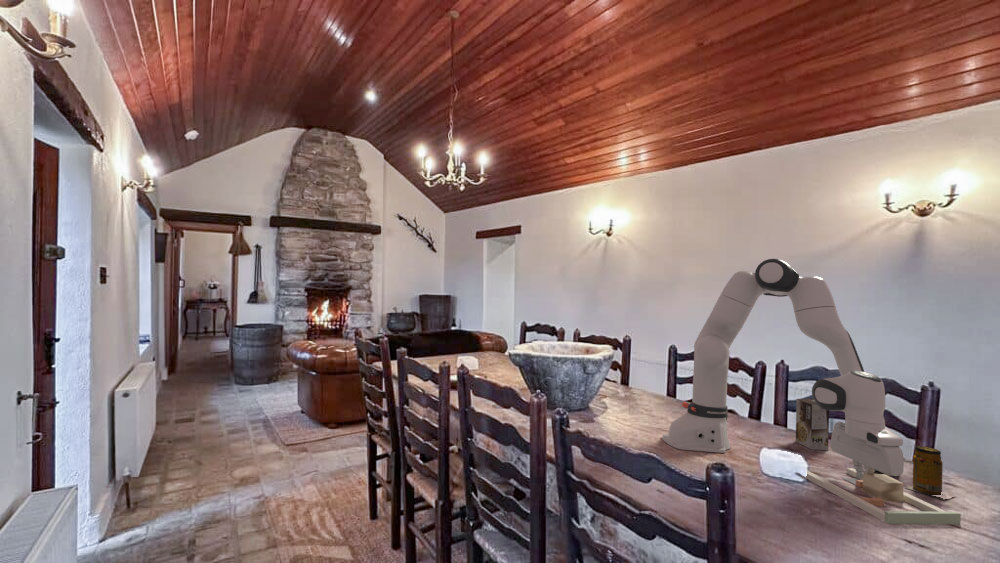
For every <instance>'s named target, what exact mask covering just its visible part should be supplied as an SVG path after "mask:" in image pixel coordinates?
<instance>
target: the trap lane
mask: <svg viewBox="0 0 1000 563" xmlns="http://www.w3.org/2000/svg"><path fill="white" fill-rule="evenodd" d="M806 470H807V469H806ZM846 474H847V475H849V476H851V477H842V479H843V480H844V481H847V482H848V483H851V484H852V485H853V486H854V485H855V486H857V487H858V488H863V480H862V479H860V478H858V477H857V476H856V469H855V468H854V467H853V468H852V467H851V468H850V467H847V468H846ZM805 479H807V480H808V481H810V482H812V483H814V484H816V485H818V486H820V487H821V488H823V489H825V490H827V491H828V492H830V493H832V494H834V495H836V496H837V497H839V498H840V499H842V500H843V501H844V500H845V501H846V502H848V503H849V504H852V505H853V506H856V507H858V508H859V509H861V510H862V511H865V512H866V513H868V514H870V515H872V516H874V517H876V518H877V519H879V520H881V521H882V522H884V523H886V524H888V525H961V519H962V518H961V517H962V516H961V515H962V514H961V513H960V512H958V511H946V510H944V509H942V508H940V507H938V506H936V505H933V504H931V503H929V502H926V500H922V499H921V498H918V497H916V496H914V495H912V494H909V493H907V492H906V491H903V502H905V503H909V504H910V505H913V506H914V507H916V508H918V509H921V510H922V511H918V510H917V511H913V510H912V511H911V510H909V511H906V510H884V509H881V508H880V507H885V501H884V500H882V499H880V498H874V497H858V496H856V495H855V494H853V493H851V492H849V491H847V490H845V489H843V488H841V487H839V486H837V485H836V484H834V483H832V482H830V481H828V480H827V479H825V478H822V477H821V476H819V475H817V474H815V473H813V472H812V471H809V470H807V476H806V478H805Z"/></svg>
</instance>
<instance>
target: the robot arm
mask: <svg viewBox="0 0 1000 563" xmlns="http://www.w3.org/2000/svg"><path fill="white" fill-rule="evenodd" d="M762 295H764V296H768V297H769V296H770V297H771V296H772V297H777V298H779V297H780V298H781V297H784V298H785V297H789V299H790V301H791V303H792V306H793V312H794V315H795V316H794V317H795V322H796V323H797V324H796V325H797V327H798V328H799V330H800V332H802V334H804V335H805V336H807V337H808V338H810V339H812V340H815V341H817V342H819V343H821V344H823V345H824V346H825V347H827V348H828V349H829V350H830V352H831V353H832V355H833V357H834V359H835V362H836V363H835V364H836V366H837V368H838V371H839V374H840V376H836V377H834V376H833V377H826V378H821V379H819V380H816V381H815V382H814V384H813V385H812V388H811V396H812V399H813V400H814V401H815V403H816V404H817V405H818V406H819V407H821V408H822V409H825V410H829V412H830V411H831V412H838V411H839V412H843V413H844V415H845V416H844V417H845V418H844V419H845V420H844V422H843V421H837V422H835V423H834V424H833V430H832V433H831V436H830V437H831V439H830V449H831V451H832V452H834V453H836V454H839V455H841V456H844V458H848V459H850V460H852V464H853V468H854V469H856V476H857V477H858V478H860V479H862V480H863V473H868V474H875V472H874V471H875V470H877V471H880V472H882V473H884V474H886V475H889V477H900V476H901V475H902V474H904V468H905V467H904V464H905V462H904V460H905V459H904V452H903V450H902V448H901V447H902V446H903V445H904V440H903V438H902V437H900V436H899V435H897V434H896V433H894V431H892V430H891V429H890V428H888V427H887V426H886V420H885V417H884V412H885V409H886V392H885V391H886V390H885V385H884V382H883V380H882V378H880V377H879V376H878V375H876V374H873V373H870V372H866V371H865V369H864V367H863V363H862V362H861V358H860V355H859V353H858V352H857V349H856V346H855V344H854V341H853V338H852V337H851V335H850V333H849V332H848V331H847V329H846V328H845V327H844V325H843V323H842V321H841V319H840V316H839V314H838V310H837V306H836V303H835V300H834V298H833V297H834V296H833V295H832V292H831V289H830V288H829V285H828V284H827V282H826V280H825V279H823V278H822V277H819V276H814V275H808V276H800V274H799V273H798V271H797V270H795V268H794V267H793V266H792V265H790V264H789V263H788V262H786V261H785V260H782V259H779V258H768V259H765V260H763V261H762V262H760V263H759V264H758V265H757V267H756V269H755V271H754V272H751V271H748V270H739V271H737V272H735V273H734V274H733V275H732V276H731V278H730V279H729V280H728V281H727V282H726V285H725V286H724V288H723V289H722V291H721V293H720V295H719V297H718V298H717V300H716V302H715V305H714V306H713V308H712V310H711V312H710V313H709V316H708V317H707V319H706V321H705V323H704V324H703V326H702V328H701V330H700V332H699V334H698V335H697V337H696V339H695V341H694V344H693V351H694V352H693V353H694V354H693V376H692V377H693V380H692V401H691V402H690V403H688V402H686V401H682V402H681V406H682V408H683V409H684V408H685V409H687V411H686V412H685V413H684V414H682V415H681V416H679V417H677V418H676V419H675V420H673V421H671V423H670V425H669V430H668V433H664V434H662V437H661V439H662V440H663V441H664V443H666V444H668V445H669V446H671V447H673V448H675V449H678V450H683V451H695V452H709V453H722V454H725V453H726V450H730V448H731V444H730V440H729V435H728V427H727V421H728V416H729V414H728V412H729V411H728V408H729V407H728V405H727V400H728V399H727V397H728V396H727V395H728V393H727V392H728V378H729V364H730V363H729V362H730V348H731V347H732V346H731V345H732V344H733V342H734V341H735V339H736V338H737V336H738V334H740V332H741V330H742V328H743V327H744V325H745V323H746V321H747V319H748V317H749V316H750V313H751V311H752V310H753V308H754V306H755V304H756V302H757V300H758V299H759V297H760V296H762ZM898 446H899V447H898Z"/></svg>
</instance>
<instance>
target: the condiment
mask: <svg viewBox="0 0 1000 563" xmlns="http://www.w3.org/2000/svg"><path fill="white" fill-rule="evenodd" d="M941 455H942V451H940V450H939V449H937V448H933V447H930V446H926V445H925V446H923V445H917V446H915V452H914V455H913V457H912V459H913V460H912V462H913V465H912V485H911V486H906V487H905V489H908V490H911V491H914V492H916V493H919V494H924V495H927V496H930V497H933V498H936V499H940V500H944V501H946V500H945V499H943V498H939V497H936V496H931V495H941V492H943V463H944V462H943V460H942V456H941ZM928 494H929V495H928Z"/></svg>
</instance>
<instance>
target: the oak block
mask: <svg viewBox="0 0 1000 563" xmlns="http://www.w3.org/2000/svg"><path fill="white" fill-rule="evenodd" d="M862 492H864V493H865V494H867V495H869V496H870V497H871V498H880V499H882V500H884V502H894V503H903V502H904V501H903V492H904V483H903V482H902V481H900V480H897V479H895V478H893V477H892V476H887V475H885V474H879V473H873V474H868V473H863V487H862Z"/></svg>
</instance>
